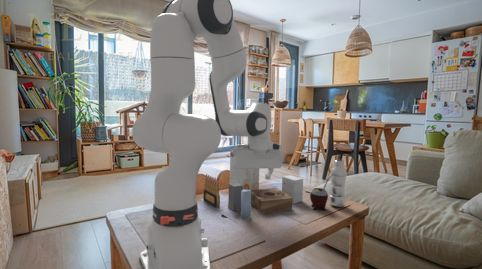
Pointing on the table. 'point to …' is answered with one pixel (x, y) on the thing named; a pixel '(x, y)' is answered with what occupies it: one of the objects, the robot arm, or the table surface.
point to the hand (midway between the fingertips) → (257, 179)
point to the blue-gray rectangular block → (245, 203)
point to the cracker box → (237, 175)
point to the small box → (293, 187)
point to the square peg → (235, 196)
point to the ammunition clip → (211, 191)
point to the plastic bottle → (338, 184)
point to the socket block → (270, 200)
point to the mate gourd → (319, 197)
